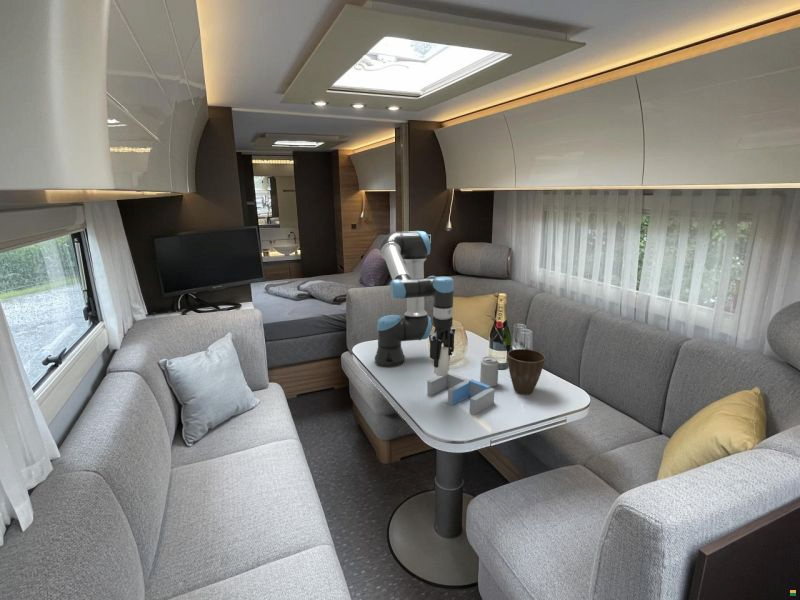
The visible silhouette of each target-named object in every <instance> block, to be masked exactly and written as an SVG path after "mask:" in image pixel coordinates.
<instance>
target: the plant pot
mask: <svg viewBox="0 0 800 600" xmlns="http://www.w3.org/2000/svg"><path fill="white" fill-rule="evenodd" d="M545 359H546V356H545V355H544V354H543V353H541V352H539V351H536V350H533V349H526V348H516V349H515V348H514V349H512V350H508V352H507V363H508V370H509V375H510V381H511V383H512V386H513V389H514V391H515V392H516V393H517V394H521V395H530V394H532V393H533V392H534V391H535V388H536V386H537V384H538V382H539V380H540V378H541V377H540V376H541V374H542V371H543V369H544V364H545Z"/></svg>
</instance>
